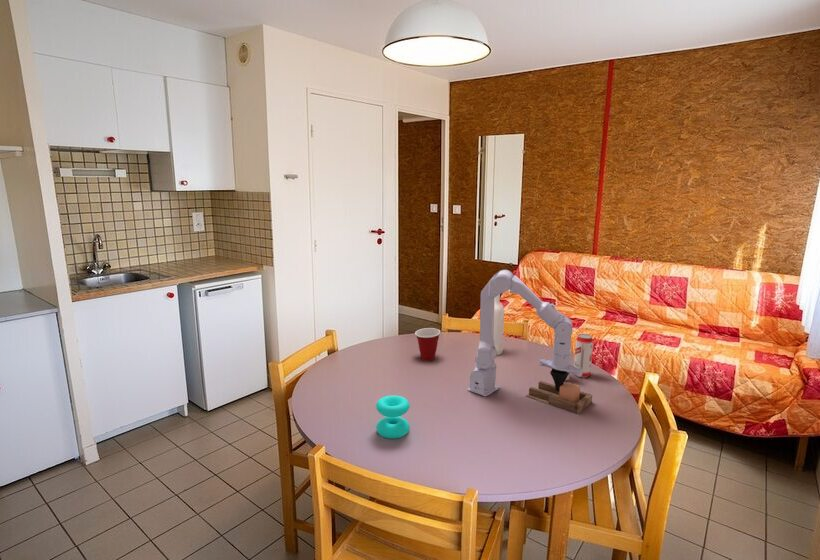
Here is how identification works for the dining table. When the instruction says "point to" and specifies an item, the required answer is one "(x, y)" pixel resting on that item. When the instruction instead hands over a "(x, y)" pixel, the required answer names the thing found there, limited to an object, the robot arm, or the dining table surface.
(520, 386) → the dining table surface
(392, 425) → the donuts
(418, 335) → the plastic cup
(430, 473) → the dining table surface
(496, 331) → the bottle
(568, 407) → the chute
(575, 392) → the block
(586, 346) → the beer can
